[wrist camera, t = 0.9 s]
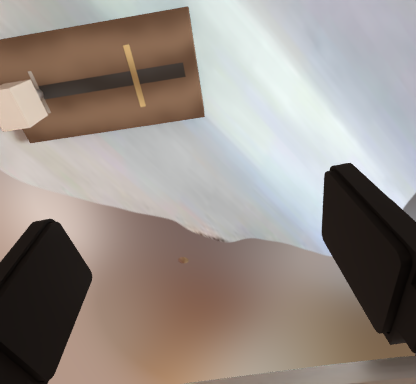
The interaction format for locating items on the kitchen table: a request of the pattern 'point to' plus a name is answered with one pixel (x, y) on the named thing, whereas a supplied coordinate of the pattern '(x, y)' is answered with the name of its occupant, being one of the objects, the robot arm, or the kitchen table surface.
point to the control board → (108, 74)
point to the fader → (20, 105)
